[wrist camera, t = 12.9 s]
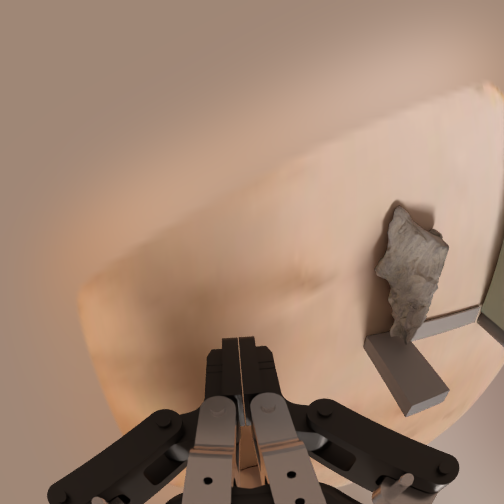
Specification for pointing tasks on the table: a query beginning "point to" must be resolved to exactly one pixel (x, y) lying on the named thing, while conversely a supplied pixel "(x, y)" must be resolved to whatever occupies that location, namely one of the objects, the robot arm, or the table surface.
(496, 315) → the door
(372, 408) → the table surface
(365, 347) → the door frame
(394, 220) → the stone
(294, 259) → the table surface
